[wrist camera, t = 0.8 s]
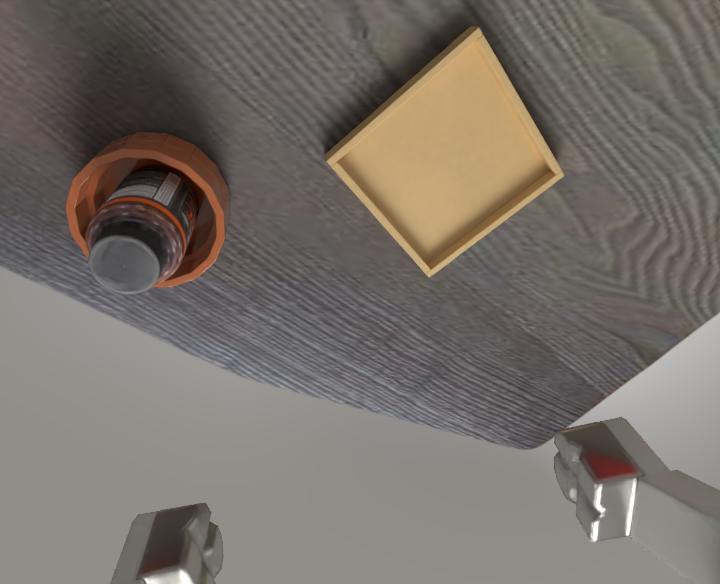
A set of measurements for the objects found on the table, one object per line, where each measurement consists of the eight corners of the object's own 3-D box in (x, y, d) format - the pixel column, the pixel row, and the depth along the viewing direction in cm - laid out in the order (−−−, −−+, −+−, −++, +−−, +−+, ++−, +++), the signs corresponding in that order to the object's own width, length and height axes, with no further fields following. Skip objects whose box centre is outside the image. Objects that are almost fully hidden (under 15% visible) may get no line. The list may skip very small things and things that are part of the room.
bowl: (60, 194, 38) (33, 219, 33) (151, 100, 35) (134, 115, 31) (170, 279, 43) (159, 310, 38) (256, 202, 40) (254, 227, 36)
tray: (324, 154, 39) (325, 161, 37) (471, 25, 36) (479, 26, 34) (424, 268, 46) (429, 278, 44) (555, 169, 42) (565, 175, 41)
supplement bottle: (200, 238, 41) (176, 313, 31) (122, 230, 39) (73, 307, 30) (201, 167, 38) (176, 227, 28) (117, 157, 36) (61, 215, 27)
